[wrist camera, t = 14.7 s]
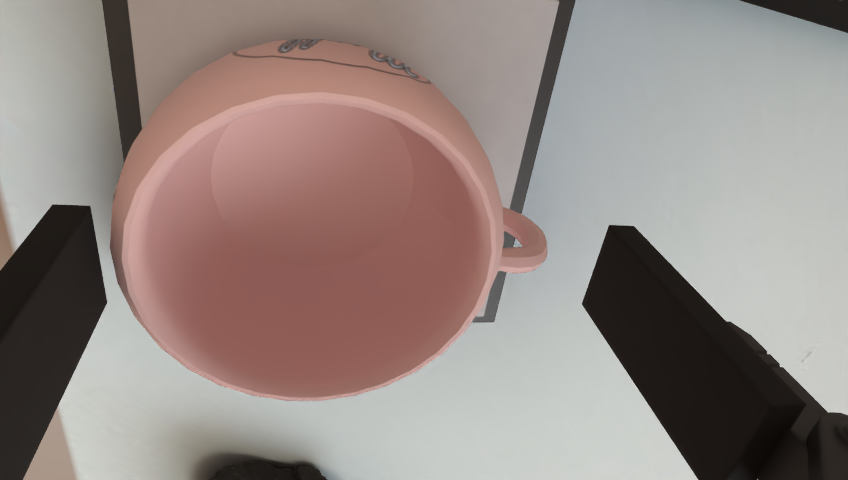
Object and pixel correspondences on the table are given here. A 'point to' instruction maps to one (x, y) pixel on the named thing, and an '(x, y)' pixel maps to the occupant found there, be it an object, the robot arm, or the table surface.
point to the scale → (374, 29)
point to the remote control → (811, 10)
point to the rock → (266, 472)
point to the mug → (310, 222)
